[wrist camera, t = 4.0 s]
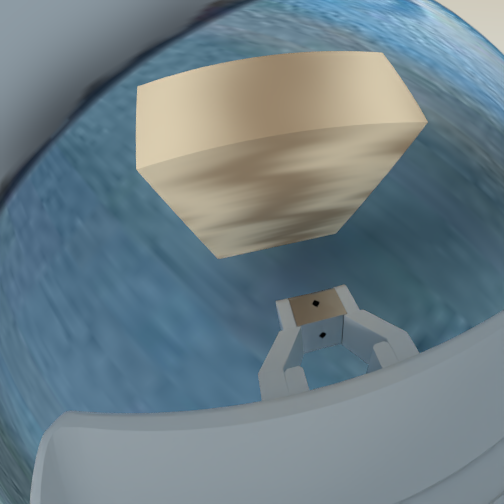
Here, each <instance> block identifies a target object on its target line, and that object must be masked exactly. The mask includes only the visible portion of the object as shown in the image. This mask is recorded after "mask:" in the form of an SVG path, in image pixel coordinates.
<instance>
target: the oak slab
mask: <svg viewBox="0 0 504 504" xmlns="http://www.w3.org/2000/svg"><path fill="white" fill-rule="evenodd" d="M427 123H428V121H427V120H426V118H425V116H424V114H423V113H422V111H421V109H420V107H419V106H418V104H417V102H416V101H415V99H414V98H413V96H412V94H411V93H410V91H409V90H408V88H407V87H406V85H405V84H404V82H403V81H402V79H401V78H400V76H399V75H398V73H397V72H396V70H395V69H394V68H393V66H392V65H391V64H390V62H389V61H388V60H387V58H386V57H385V56H384V54H383V53H378V52H359V51H321V52H301V53H288V54H278V55H269V56H262V57H254V58H248V59H242V60H236V61H231V62H225V63H220V64H216V65H211V66H207V67H202V68H198V69H194V70H190V71H186V72H183V73H179V74H175V75H172V76H169V77H165V78H162V79H159V80H156V81H153V82H150V83H147V84H144V85H141V86H138V88H137V109H136V170H137V171H138V172H139V173H140V174H141V175H142V176H143V177H144V179H145V180H146V181H147V182H148V183H149V184H150V185H151V186H152V188H153V189H154V190H155V191H156V192H157V193H158V194H159V195H160V196H161V198H162V199H163V200H164V201H165V202H166V203H167V204H168V205H169V206H170V208H171V209H172V210H173V211H174V212H175V213H176V214H177V215H178V216H179V217H180V219H181V220H182V221H183V222H184V223H185V224H186V225H187V226H188V227H189V228H190V229H191V230H192V232H193V233H194V234H195V235H196V236H197V237H198V238H199V239H200V240H201V241H202V242H203V243H204V244H205V246H206V247H207V248H208V249H209V250H210V251H211V252H212V253H213V254H214V255H215V256H216V257H217V258H218V259H221V258H226V257H230V256H235V255H240V254H244V253H249V252H253V251H258V250H263V249H267V248H272V247H276V246H281V245H286V244H290V243H295V242H299V241H304V240H308V239H313V238H318V237H322V236H327V235H331V234H336V233H337V232H338V231H339V230H340V228H341V227H342V226H343V225H344V224H345V223H346V222H347V221H348V219H349V218H350V217H351V216H352V215H353V214H354V212H355V211H356V210H357V209H358V208H359V207H360V206H361V204H362V203H363V202H364V201H365V200H366V198H367V197H368V196H369V195H370V194H371V193H372V191H373V190H374V189H375V188H376V187H377V185H378V184H379V183H380V182H381V181H382V179H383V178H384V177H385V176H386V175H387V173H388V172H389V171H390V170H391V168H392V167H393V166H394V165H395V164H396V162H397V161H398V160H399V159H400V157H401V156H402V155H403V154H404V152H405V151H406V150H407V149H408V147H409V146H410V145H411V143H412V142H413V141H414V140H415V138H416V137H417V136H418V134H419V133H420V132H421V131H422V129H423V128H424V127H425V125H426V124H427Z"/></svg>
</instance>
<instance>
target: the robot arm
mask: <svg viewBox="0 0 504 504" xmlns="http://www.w3.org/2000/svg"><path fill="white" fill-rule="evenodd" d="M276 307H277V313H278V318H279V324H280V329H281V331H279V333H278V335H277V337H276V339H275V341H274V343H273V345H272V347H271V349H270V351H269V353H268V355H267V357H266V359H265V361H264V363H263V365H262V367H261V369H260V371H259V373H258V377H259V384H260V391H261V397H262V401H259V402H253V403H247V404H241V405H235V406H228V407H220V408H212V409H203V410H192V411H180V412H163V413H97V412H82V411H66V412H64V413H63V414H62V415H60V416H59V417H58V418H57V419H56V420H55V421H54V422H53V424H52V425H51V426H50V427H49V428H48V429H47V430H46V431H45V433H44V434H43V437H42V439H41V442H40V445H39V448H38V452H37V457H36V461H35V466H34V472H33V478H32V485H31V496H30V504H504V310H502V311H501V312H499V313H497V314H496V315H494V316H492V317H491V318H489V319H487V320H486V321H484V322H482V323H480V324H478V325H477V326H475V327H473V328H471V329H469V330H467V331H466V332H464V333H462V334H460V335H458V336H456V337H454V338H452V339H450V340H448V341H446V342H444V343H442V344H439V345H437V346H435V347H433V348H431V349H428V350H426V351H424V352H422V353H419V352H418V350H417V348H416V346H415V345H414V343H413V341H412V340H411V338H410V336H409V335H408V333H407V332H406V331H404V330H402V329H400V328H398V327H396V326H394V325H392V324H390V323H388V322H387V321H385V320H383V319H381V318H379V317H377V316H375V315H373V314H371V313H369V312H367V311H365V310H360V309H359V308H358V306H357V304H356V302H355V300H354V299H353V297H352V295H351V293H350V292H349V290H348V288H347V286H346V285H341V286H337V287H333V288H330V289H326V290H322V291H318V292H314V293H311V294H306V295H301V296H297V297H292V298H288V299H283V300H278V301H276ZM338 344H342V345H343V346H345V347H346V348H347V349H349V350H350V351H351V352H353V353H354V354H355V355H357V356H358V357H359V358H361V359H362V360H363V361H365V362H366V363H367V364H369V366H368V369H367V373H366V374H364V375H361V376H358V377H355V378H352V379H349V380H346V381H342V382H339V383H336V384H332V385H329V386H325V387H321V388H318V389H314V390H310V391H309V387H308V384H307V381H306V377H305V374H304V370H303V368H302V367H300V364H301V361H302V358H303V355H304V354H305V353H308V352H312V351H315V350H319V349H322V348H326V347H330V346H334V345H338Z"/></svg>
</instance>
